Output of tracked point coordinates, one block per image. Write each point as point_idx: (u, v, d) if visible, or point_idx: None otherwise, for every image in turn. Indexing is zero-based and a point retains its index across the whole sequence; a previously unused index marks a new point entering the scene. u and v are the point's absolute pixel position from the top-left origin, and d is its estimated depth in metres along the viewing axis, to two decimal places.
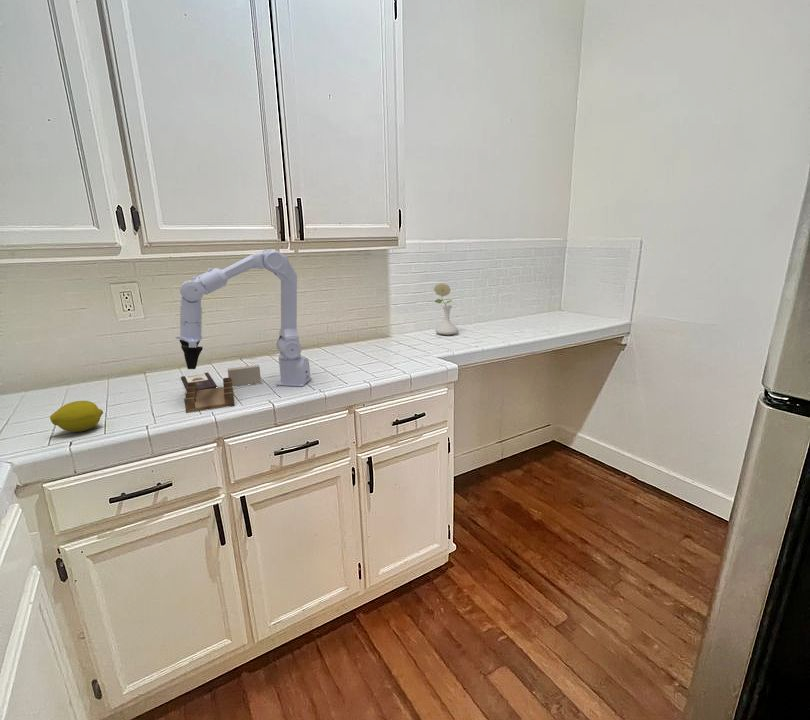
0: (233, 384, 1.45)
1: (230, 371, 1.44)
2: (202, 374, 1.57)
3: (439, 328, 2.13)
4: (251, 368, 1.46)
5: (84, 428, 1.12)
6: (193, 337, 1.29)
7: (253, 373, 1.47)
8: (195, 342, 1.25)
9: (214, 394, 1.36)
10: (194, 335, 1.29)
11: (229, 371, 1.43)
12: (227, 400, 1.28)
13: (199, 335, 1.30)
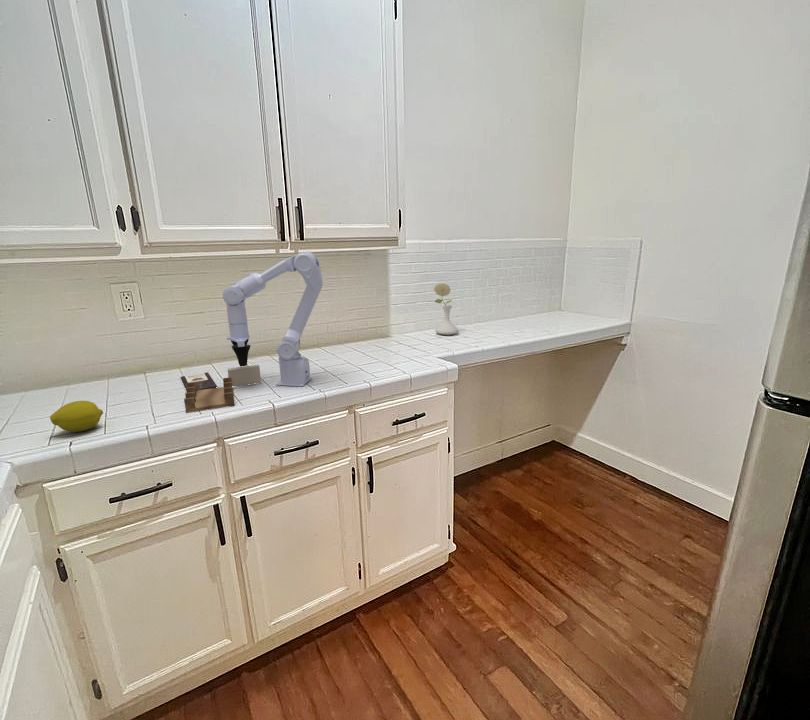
0: (233, 384, 1.45)
1: (230, 371, 1.44)
2: (202, 374, 1.57)
3: (439, 328, 2.13)
4: (251, 368, 1.46)
5: (84, 428, 1.12)
6: (241, 337, 1.41)
7: (253, 373, 1.47)
8: (243, 341, 1.37)
9: (214, 394, 1.36)
10: (242, 335, 1.41)
11: (229, 371, 1.43)
12: (227, 400, 1.28)
13: (246, 334, 1.42)
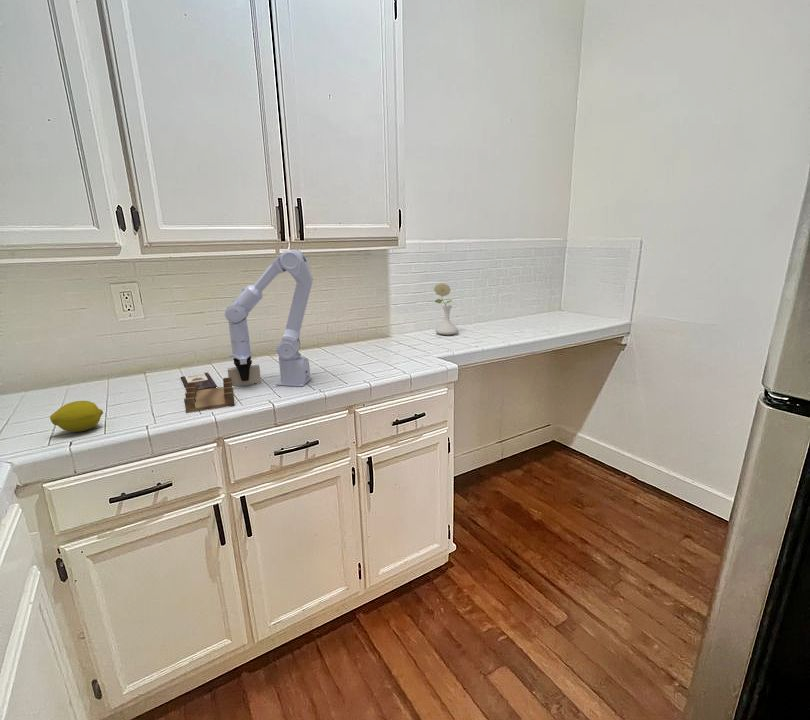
0: (233, 384, 1.45)
1: (230, 371, 1.43)
2: (202, 374, 1.57)
3: (439, 328, 2.13)
4: (251, 368, 1.46)
5: (84, 428, 1.12)
6: (243, 354, 1.42)
7: (253, 373, 1.47)
8: (245, 359, 1.39)
9: (214, 394, 1.36)
10: (244, 353, 1.42)
11: (229, 370, 1.43)
12: (227, 400, 1.28)
13: (248, 351, 1.44)
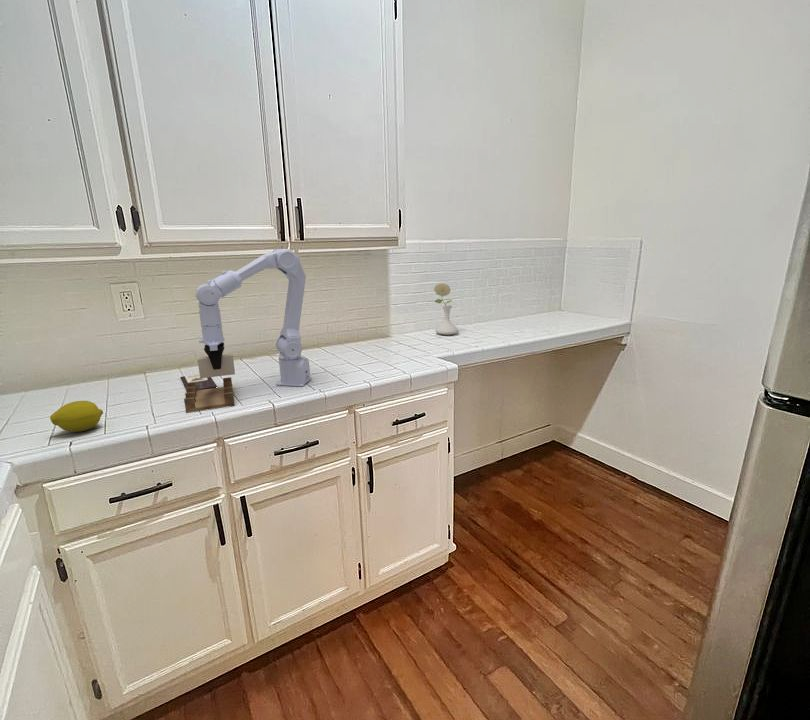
0: (204, 374, 1.33)
1: (200, 360, 1.32)
2: None
3: (439, 328, 2.13)
4: (224, 357, 1.34)
5: (84, 428, 1.12)
6: (214, 340, 1.30)
7: (226, 363, 1.35)
8: (215, 345, 1.27)
9: (214, 394, 1.36)
10: (215, 338, 1.30)
11: (199, 360, 1.32)
12: (227, 400, 1.28)
13: (220, 337, 1.32)
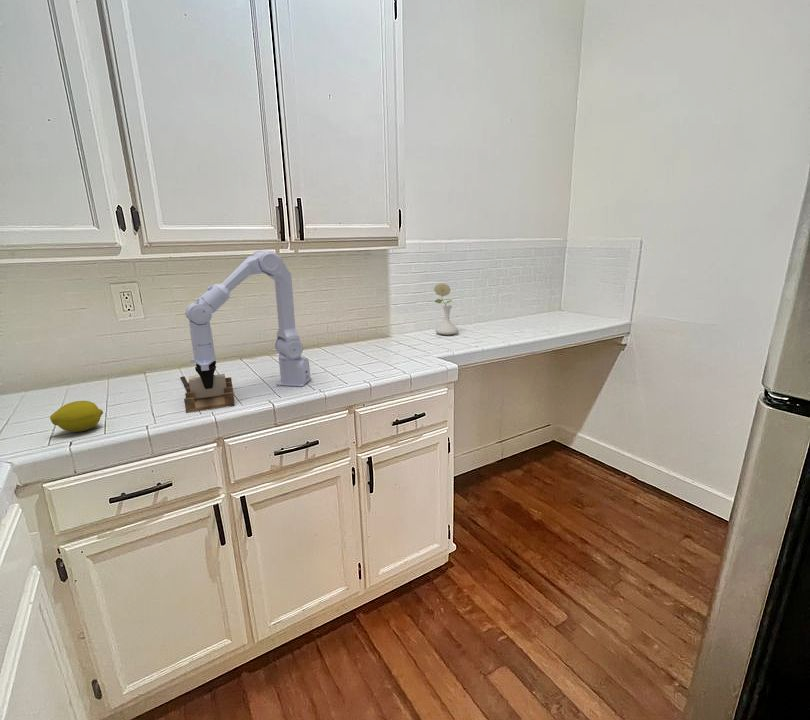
0: (195, 395, 1.31)
1: (191, 381, 1.29)
2: None
3: (439, 328, 2.13)
4: (215, 378, 1.32)
5: (84, 428, 1.12)
6: (206, 359, 1.28)
7: (218, 383, 1.32)
8: (207, 365, 1.24)
9: None
10: (206, 357, 1.28)
11: (190, 381, 1.29)
12: (227, 400, 1.28)
13: (212, 356, 1.29)
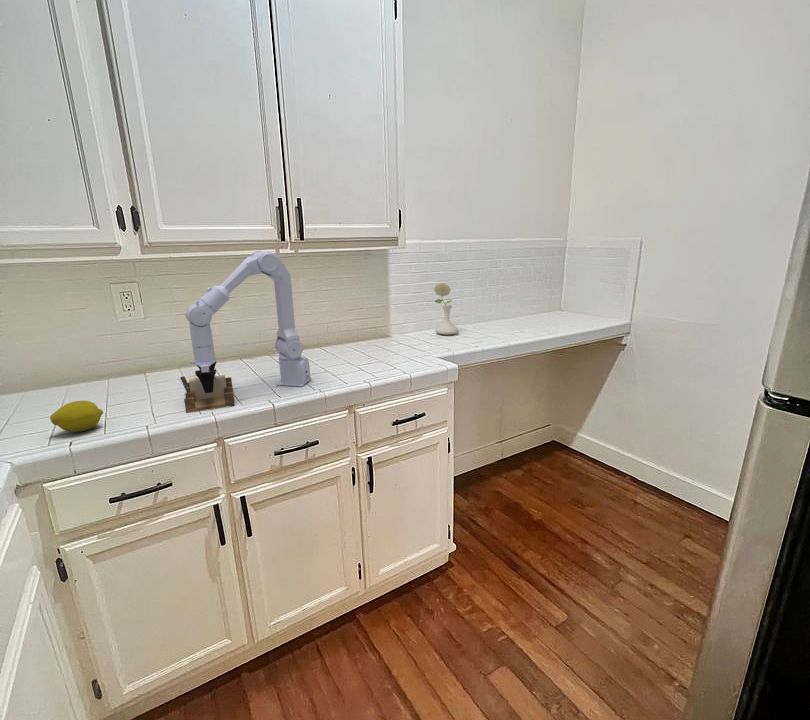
0: (195, 397, 1.31)
1: (192, 382, 1.30)
2: None
3: (439, 328, 2.13)
4: (216, 379, 1.32)
5: (84, 428, 1.12)
6: (206, 361, 1.28)
7: (218, 384, 1.33)
8: (207, 367, 1.24)
9: None
10: (207, 359, 1.28)
11: (191, 382, 1.29)
12: (227, 400, 1.28)
13: (212, 358, 1.29)
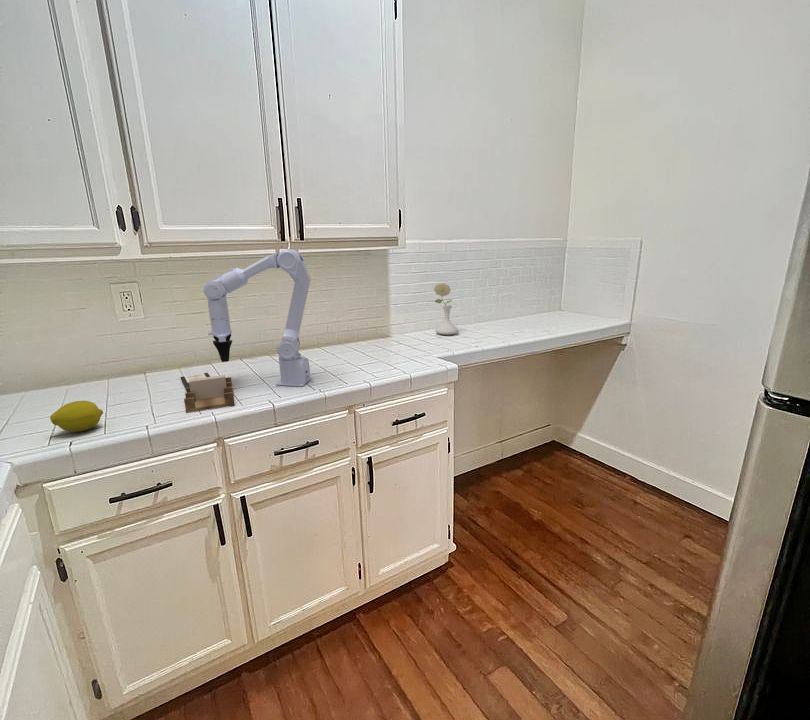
0: (195, 397, 1.31)
1: (192, 382, 1.30)
2: (201, 374, 1.57)
3: (439, 328, 2.13)
4: (216, 379, 1.32)
5: (84, 428, 1.12)
6: (223, 332, 1.39)
7: (218, 384, 1.33)
8: (224, 336, 1.35)
9: None
10: (223, 330, 1.39)
11: (191, 382, 1.29)
12: (227, 400, 1.28)
13: (228, 330, 1.40)
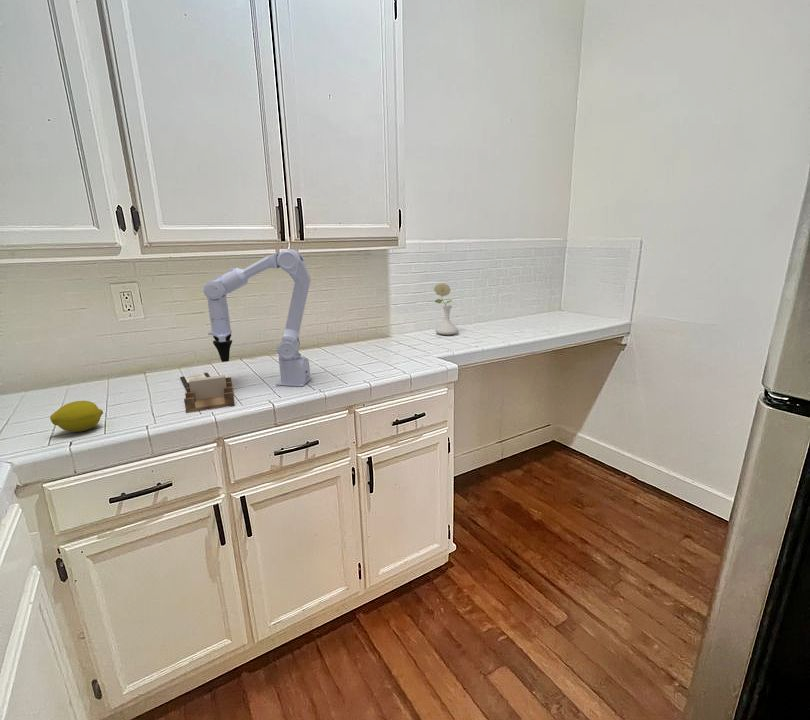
0: (195, 397, 1.31)
1: (192, 382, 1.30)
2: (201, 374, 1.57)
3: (439, 328, 2.13)
4: (216, 379, 1.32)
5: (84, 428, 1.12)
6: (223, 332, 1.39)
7: (218, 384, 1.33)
8: (224, 336, 1.35)
9: None
10: (223, 330, 1.39)
11: (191, 382, 1.29)
12: (227, 400, 1.28)
13: (228, 330, 1.40)
